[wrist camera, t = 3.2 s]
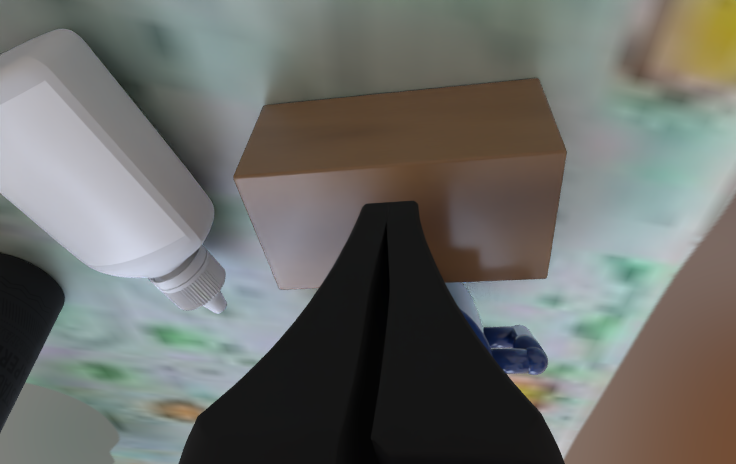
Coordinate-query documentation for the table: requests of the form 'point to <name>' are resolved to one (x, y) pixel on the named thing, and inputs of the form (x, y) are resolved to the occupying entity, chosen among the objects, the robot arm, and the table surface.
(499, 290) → the table surface
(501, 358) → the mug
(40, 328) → the drinking cup
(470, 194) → the oak block
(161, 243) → the eye dropper bottle
